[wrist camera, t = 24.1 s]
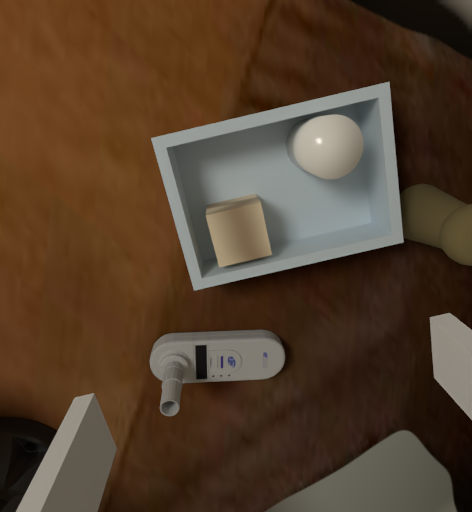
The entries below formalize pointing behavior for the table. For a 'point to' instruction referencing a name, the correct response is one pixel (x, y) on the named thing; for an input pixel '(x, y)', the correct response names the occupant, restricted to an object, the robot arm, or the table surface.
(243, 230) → the beech cube
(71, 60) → the table surface
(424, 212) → the cork
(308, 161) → the white egg
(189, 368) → the electronic device
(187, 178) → the tote
